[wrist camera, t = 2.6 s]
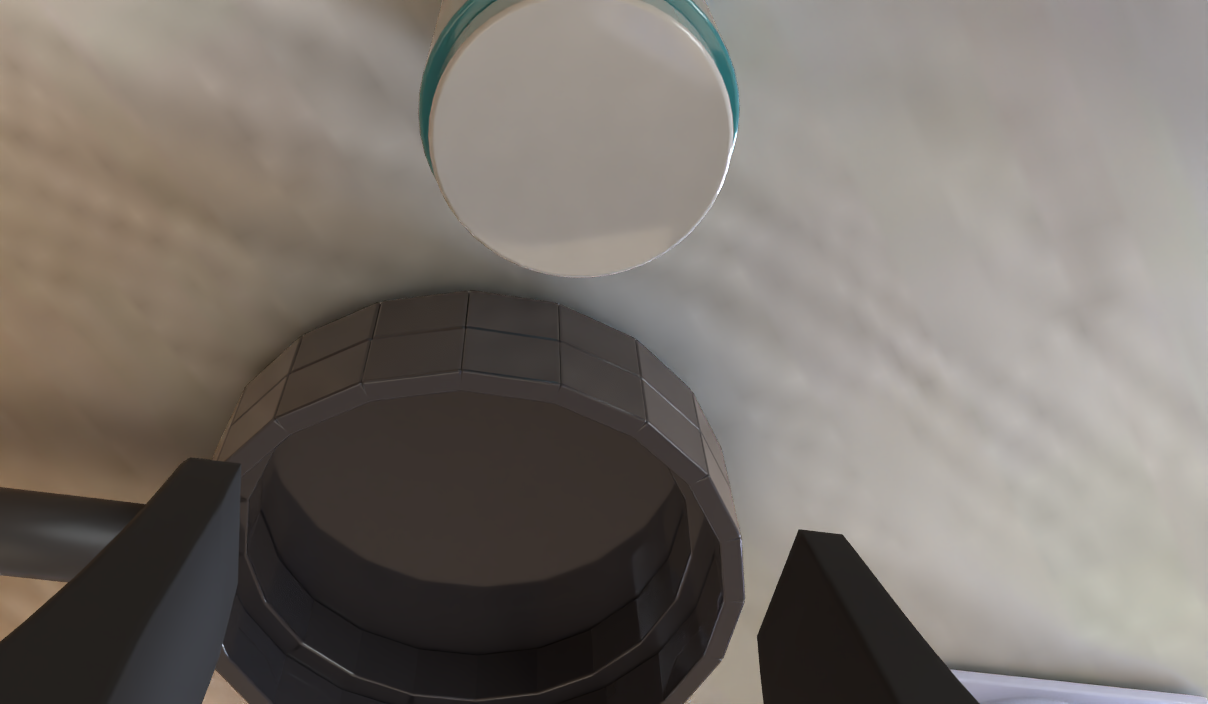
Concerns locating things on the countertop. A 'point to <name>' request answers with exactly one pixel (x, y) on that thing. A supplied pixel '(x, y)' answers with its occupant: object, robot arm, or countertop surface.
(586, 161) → the salt shaker
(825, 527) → the countertop surface
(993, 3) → the countertop surface
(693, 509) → the pan
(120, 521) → the pan handle
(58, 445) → the countertop surface
